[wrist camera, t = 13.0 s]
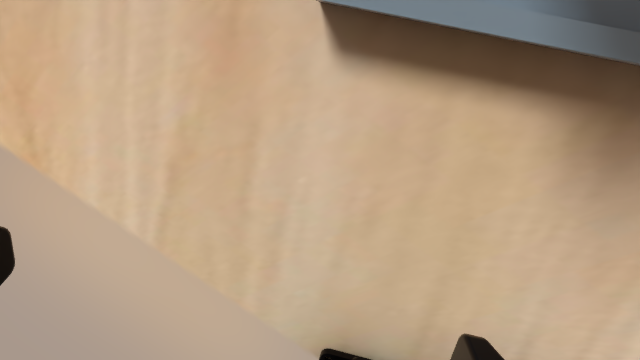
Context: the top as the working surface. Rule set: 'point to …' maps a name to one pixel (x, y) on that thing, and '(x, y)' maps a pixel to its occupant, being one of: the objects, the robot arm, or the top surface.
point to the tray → (530, 21)
